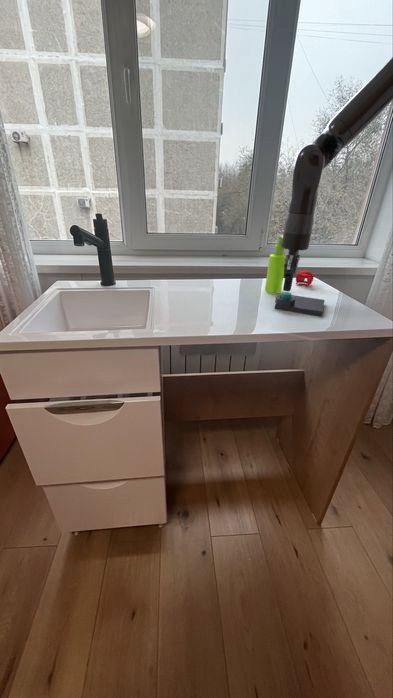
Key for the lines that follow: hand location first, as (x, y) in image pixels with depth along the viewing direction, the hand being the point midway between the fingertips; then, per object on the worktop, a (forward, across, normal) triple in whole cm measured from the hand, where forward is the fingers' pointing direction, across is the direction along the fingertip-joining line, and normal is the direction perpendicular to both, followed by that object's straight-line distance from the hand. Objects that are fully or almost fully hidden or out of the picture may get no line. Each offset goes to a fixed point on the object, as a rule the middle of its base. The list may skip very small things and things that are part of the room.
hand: (286, 290), depth 89 cm
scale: (+6, +4, -5) cm, 8 cm away
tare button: (+3, 0, 0) cm, 3 cm away
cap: (+6, +30, -3) cm, 31 cm away
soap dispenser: (+6, +16, +6) cm, 18 cm away
